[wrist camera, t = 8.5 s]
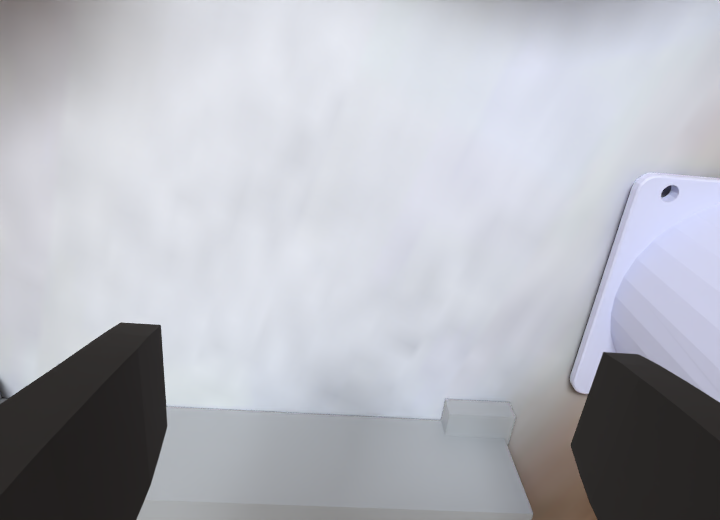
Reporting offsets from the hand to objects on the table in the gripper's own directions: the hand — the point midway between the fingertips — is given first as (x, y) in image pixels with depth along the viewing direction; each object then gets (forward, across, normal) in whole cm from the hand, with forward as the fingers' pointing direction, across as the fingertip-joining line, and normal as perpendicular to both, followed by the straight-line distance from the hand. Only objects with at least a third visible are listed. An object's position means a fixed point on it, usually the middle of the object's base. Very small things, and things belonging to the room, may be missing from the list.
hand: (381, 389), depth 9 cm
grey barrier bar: (+8, +4, +8) cm, 13 cm away
